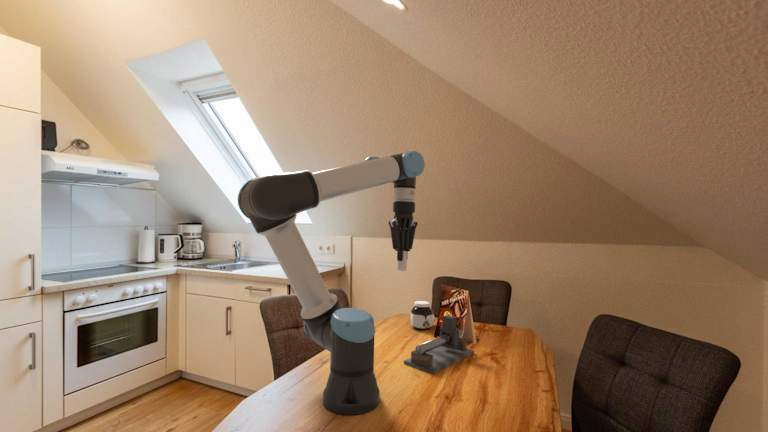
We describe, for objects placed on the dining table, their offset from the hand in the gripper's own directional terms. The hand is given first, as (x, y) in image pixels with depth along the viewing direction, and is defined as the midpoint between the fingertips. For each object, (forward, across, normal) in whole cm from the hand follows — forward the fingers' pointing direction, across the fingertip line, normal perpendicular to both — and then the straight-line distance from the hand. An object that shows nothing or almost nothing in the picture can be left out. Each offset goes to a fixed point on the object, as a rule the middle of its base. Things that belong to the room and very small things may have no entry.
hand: (401, 270), depth 125 cm
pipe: (+27, +14, -7) cm, 31 cm away
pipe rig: (+31, +14, -7) cm, 35 cm away
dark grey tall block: (+28, +20, -7) cm, 35 cm away
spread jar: (+31, +40, +20) cm, 55 cm away
